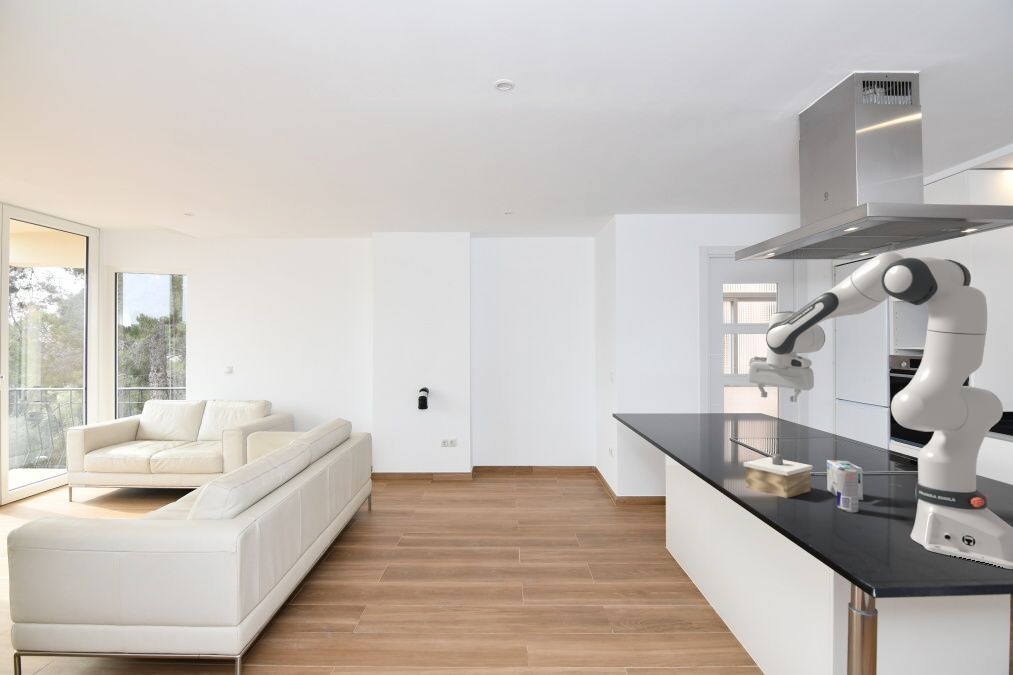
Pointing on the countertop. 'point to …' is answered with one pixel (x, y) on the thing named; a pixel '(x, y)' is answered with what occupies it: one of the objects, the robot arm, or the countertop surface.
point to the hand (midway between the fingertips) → (778, 399)
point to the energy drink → (847, 489)
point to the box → (778, 482)
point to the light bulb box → (832, 476)
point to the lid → (778, 465)
